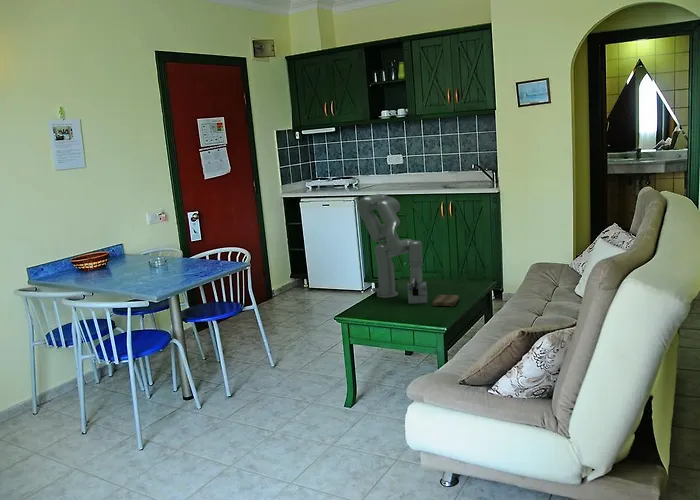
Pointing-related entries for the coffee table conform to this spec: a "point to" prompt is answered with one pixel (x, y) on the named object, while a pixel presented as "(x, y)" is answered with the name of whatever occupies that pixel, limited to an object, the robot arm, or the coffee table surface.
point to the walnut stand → (445, 300)
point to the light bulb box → (421, 294)
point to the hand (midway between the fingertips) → (417, 293)
